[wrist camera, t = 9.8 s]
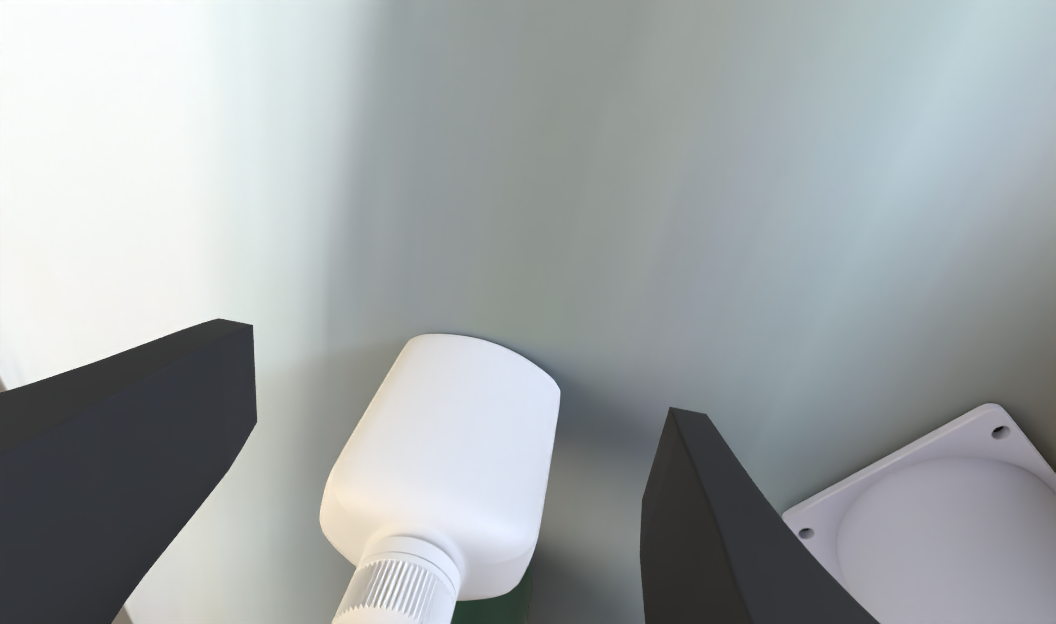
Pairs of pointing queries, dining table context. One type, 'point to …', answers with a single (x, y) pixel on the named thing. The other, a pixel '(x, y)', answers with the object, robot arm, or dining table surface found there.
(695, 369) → the dining table surface
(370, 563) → the eye dropper bottle
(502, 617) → the green tin can
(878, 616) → the robot arm
